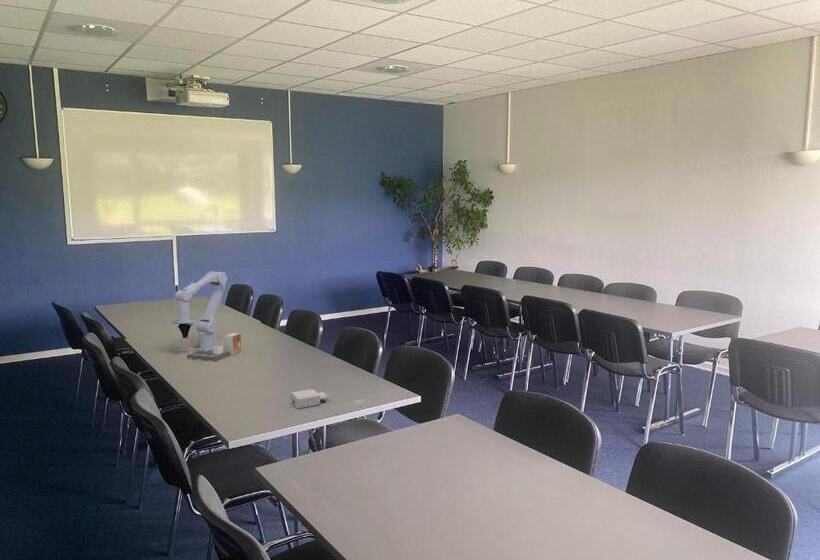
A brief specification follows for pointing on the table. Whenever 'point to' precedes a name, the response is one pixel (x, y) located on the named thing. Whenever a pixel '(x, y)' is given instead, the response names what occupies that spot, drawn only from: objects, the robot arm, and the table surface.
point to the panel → (208, 355)
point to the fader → (218, 350)
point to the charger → (307, 398)
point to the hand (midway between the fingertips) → (185, 337)
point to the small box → (232, 343)
